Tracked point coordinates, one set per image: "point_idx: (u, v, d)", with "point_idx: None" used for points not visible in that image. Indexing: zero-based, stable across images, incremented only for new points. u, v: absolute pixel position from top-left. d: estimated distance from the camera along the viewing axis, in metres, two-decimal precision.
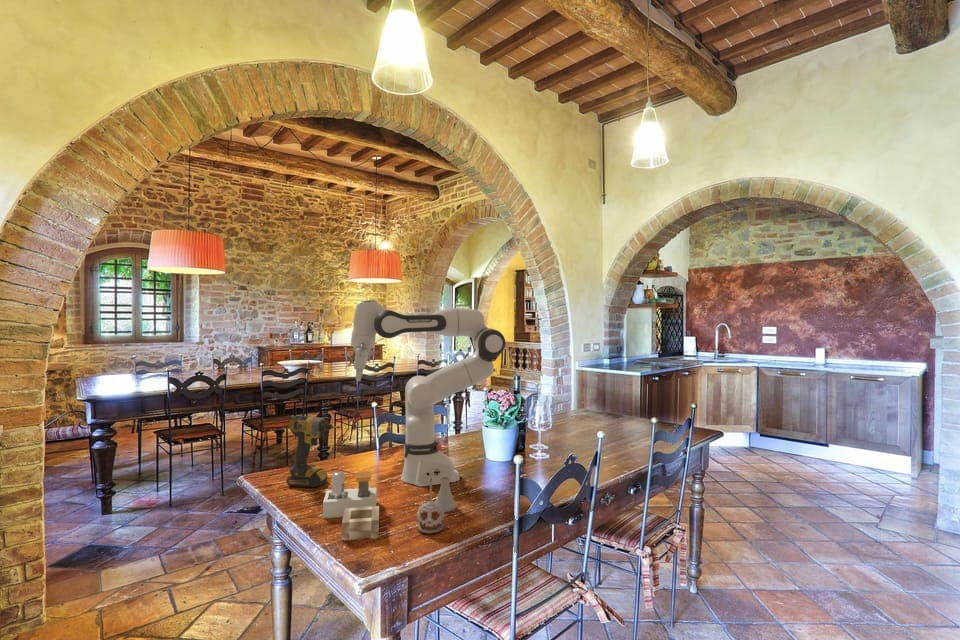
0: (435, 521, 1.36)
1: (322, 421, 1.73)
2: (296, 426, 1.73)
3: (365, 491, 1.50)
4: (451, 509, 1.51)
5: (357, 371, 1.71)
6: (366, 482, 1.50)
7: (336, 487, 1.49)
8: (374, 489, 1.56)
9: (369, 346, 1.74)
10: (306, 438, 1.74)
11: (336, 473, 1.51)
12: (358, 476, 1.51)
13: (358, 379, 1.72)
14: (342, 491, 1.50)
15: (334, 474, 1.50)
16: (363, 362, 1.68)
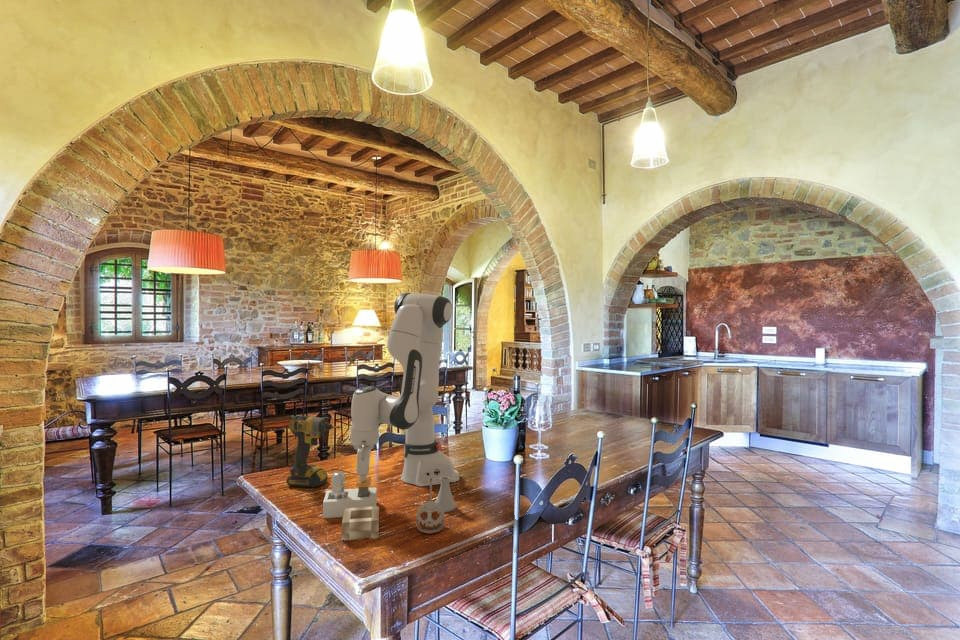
0: (435, 521, 1.36)
1: (322, 421, 1.73)
2: (296, 426, 1.73)
3: None
4: (451, 509, 1.51)
5: None
6: (366, 487, 1.50)
7: (336, 487, 1.49)
8: (374, 489, 1.56)
9: (372, 443, 1.49)
10: (306, 438, 1.74)
11: (336, 473, 1.51)
12: (358, 481, 1.51)
13: (363, 479, 1.51)
14: (342, 491, 1.50)
15: (334, 474, 1.50)
16: (367, 466, 1.43)
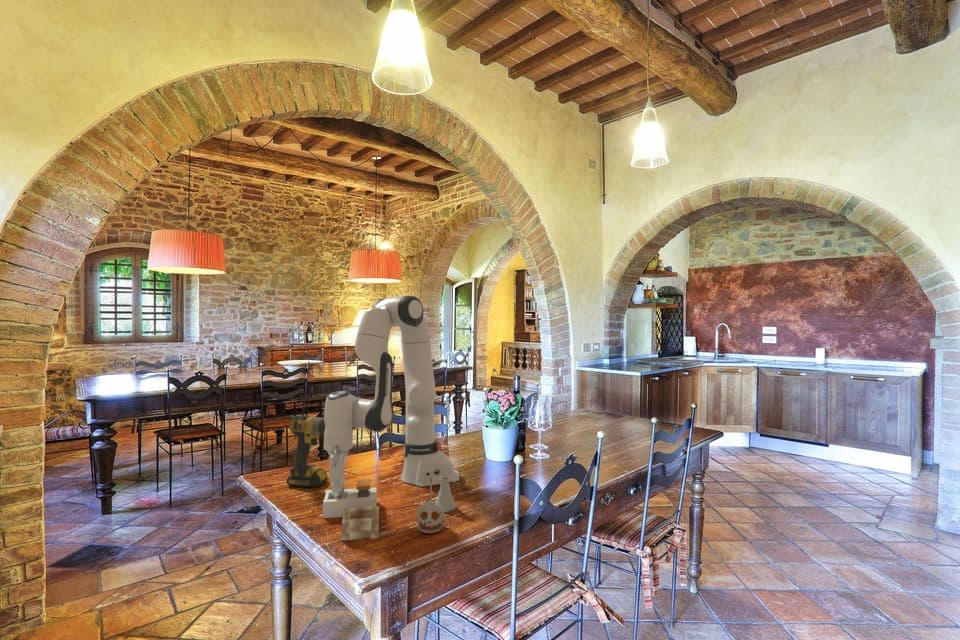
0: (435, 521, 1.36)
1: (322, 421, 1.73)
2: (296, 426, 1.73)
3: None
4: (451, 509, 1.51)
5: None
6: (366, 490, 1.50)
7: None
8: (374, 489, 1.56)
9: (346, 448, 1.48)
10: (306, 438, 1.74)
11: None
12: (358, 484, 1.51)
13: (337, 487, 1.48)
14: (342, 491, 1.50)
15: None
16: (339, 472, 1.41)
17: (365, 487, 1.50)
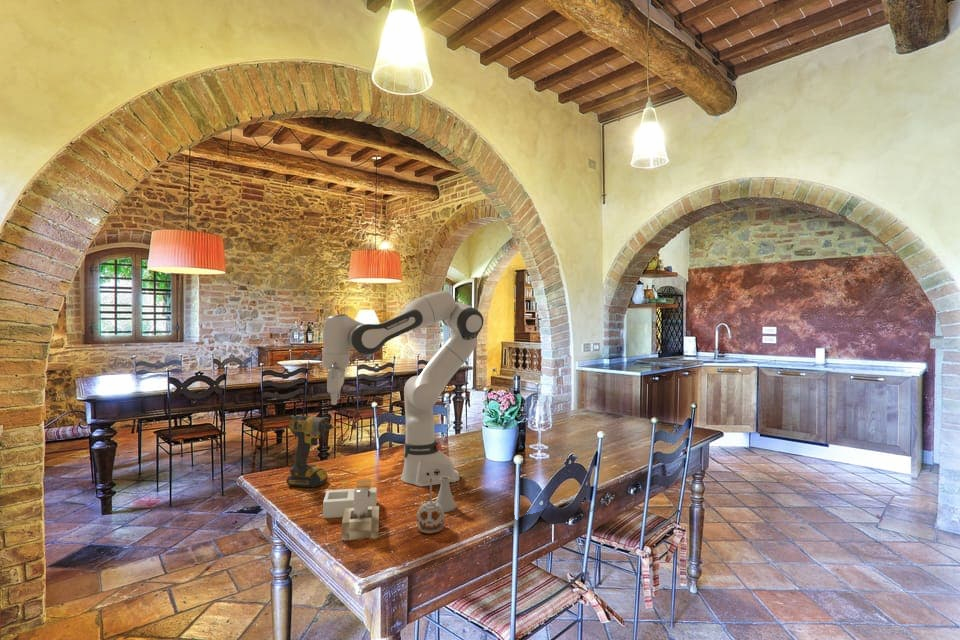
0: (435, 521, 1.36)
1: (322, 421, 1.73)
2: (296, 426, 1.73)
3: None
4: (451, 509, 1.52)
5: (331, 394, 1.55)
6: None
7: (359, 505, 1.35)
8: (374, 489, 1.56)
9: (343, 365, 1.58)
10: (306, 438, 1.74)
11: (359, 489, 1.37)
12: (358, 484, 1.51)
13: (334, 403, 1.56)
14: (365, 509, 1.36)
15: (357, 491, 1.36)
16: (336, 384, 1.52)
17: (365, 487, 1.50)
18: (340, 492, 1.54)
